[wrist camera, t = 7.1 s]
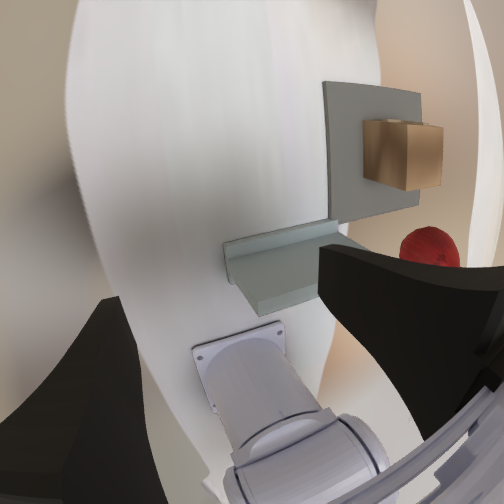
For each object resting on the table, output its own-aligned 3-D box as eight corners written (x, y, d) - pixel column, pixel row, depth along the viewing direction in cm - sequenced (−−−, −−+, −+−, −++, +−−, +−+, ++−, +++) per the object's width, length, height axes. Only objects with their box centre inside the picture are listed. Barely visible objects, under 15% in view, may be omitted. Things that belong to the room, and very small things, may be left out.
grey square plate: (415, 203, 26) (418, 205, 26) (328, 224, 23) (331, 226, 22) (417, 93, 21) (420, 93, 21) (322, 81, 18) (325, 81, 18)
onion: (387, 280, 28) (443, 319, 22) (378, 237, 25) (444, 275, 19) (422, 248, 29) (477, 279, 22) (415, 205, 26) (480, 233, 19)
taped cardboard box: (400, 173, 23) (440, 185, 19) (363, 177, 22) (405, 191, 18) (400, 119, 21) (443, 125, 17) (362, 117, 20) (407, 121, 16)
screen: (333, 251, 24) (381, 285, 19) (228, 281, 21) (260, 330, 16) (333, 217, 23) (386, 245, 18) (222, 243, 20) (255, 286, 15)
